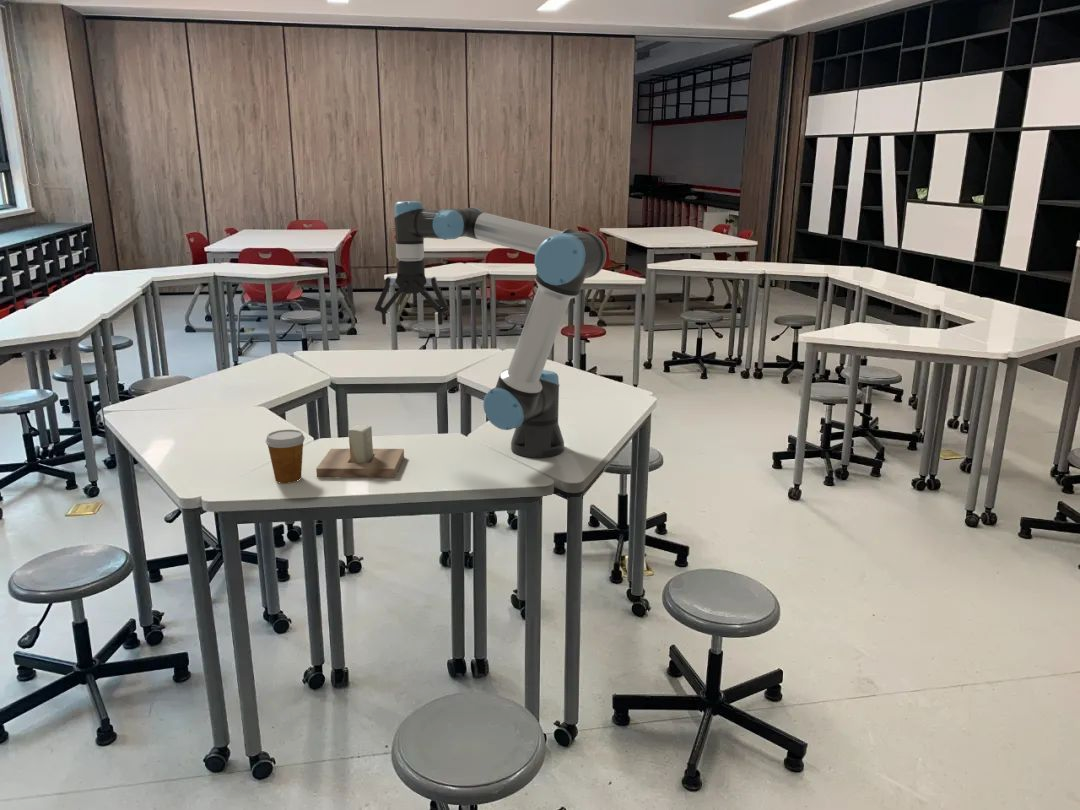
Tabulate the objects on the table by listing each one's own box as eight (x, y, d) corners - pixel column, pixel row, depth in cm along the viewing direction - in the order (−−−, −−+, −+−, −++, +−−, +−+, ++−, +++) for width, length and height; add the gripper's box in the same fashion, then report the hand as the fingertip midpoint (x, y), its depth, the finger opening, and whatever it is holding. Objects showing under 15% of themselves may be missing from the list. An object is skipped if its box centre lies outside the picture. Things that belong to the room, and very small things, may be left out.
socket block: (404, 457, 224) (403, 448, 224) (394, 477, 209) (394, 468, 208) (331, 457, 224) (330, 448, 224) (316, 477, 209) (316, 468, 208)
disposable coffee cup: (268, 474, 211) (265, 430, 207) (307, 471, 213) (303, 427, 210) (268, 487, 202) (264, 441, 199) (308, 483, 205) (305, 438, 202)
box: (360, 463, 220) (358, 423, 217) (374, 464, 219) (372, 425, 216) (350, 469, 215) (347, 429, 212) (364, 471, 214) (362, 430, 211)
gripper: (457, 258, 226) (458, 333, 231) (367, 257, 225) (370, 333, 231) (454, 260, 219) (456, 338, 224) (361, 260, 218) (365, 338, 224)
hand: (413, 336), depth 228 cm, fingers open, 13 cm apart
